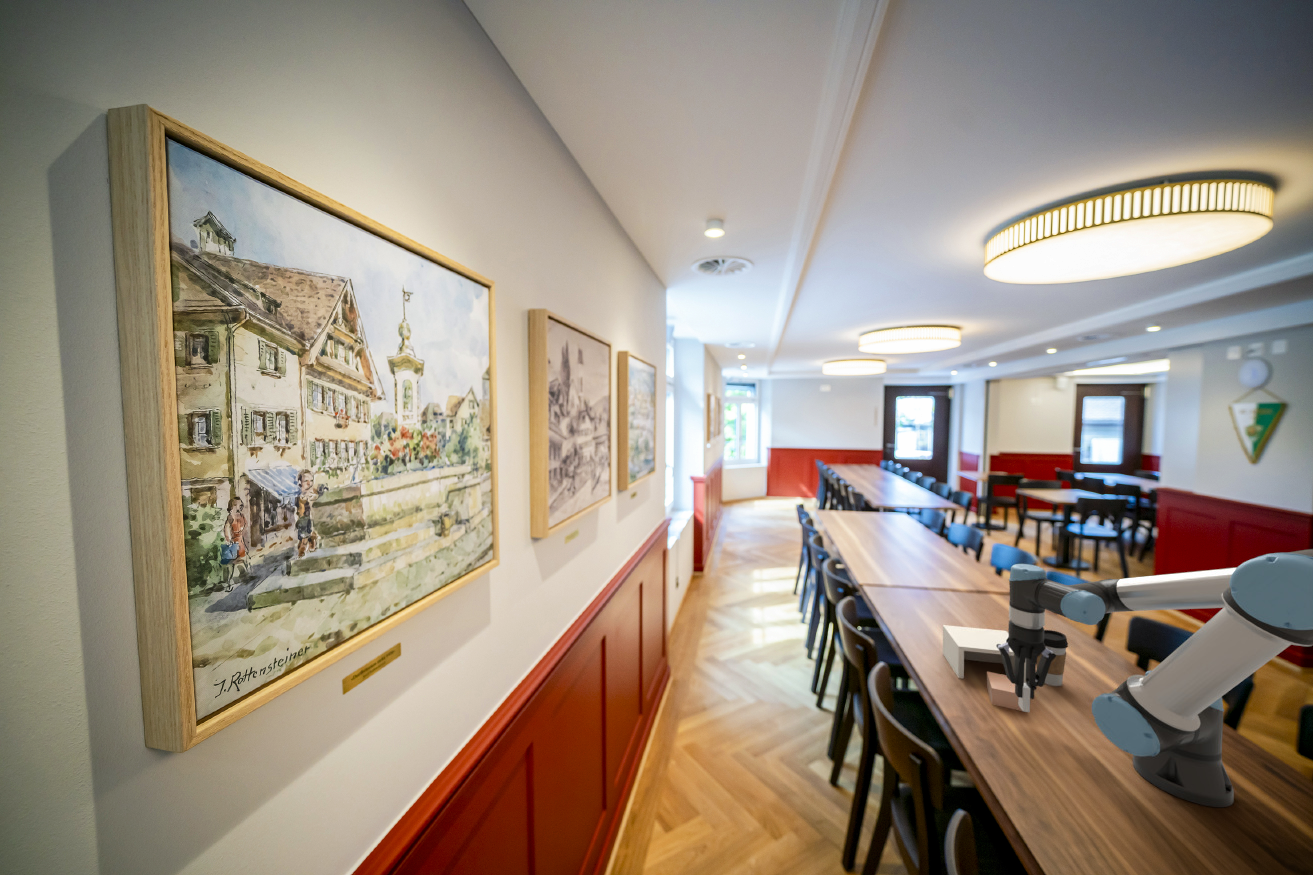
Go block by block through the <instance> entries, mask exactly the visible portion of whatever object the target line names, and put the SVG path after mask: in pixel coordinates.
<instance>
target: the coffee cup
mask: <svg viewBox="0 0 1313 875" xmlns="http://www.w3.org/2000/svg"><path fill="white" fill-rule="evenodd" d="M1044 644H1045V646H1046V648H1047V649H1050V650H1051V651H1052V652H1053V653H1054V654H1055V655H1056V657H1055V658H1054V659H1053V661H1052V662H1051V664H1050V667H1049V670H1048V673H1047V676H1046V679H1045V682H1044V685H1048V686H1053V687H1060V686H1062V685H1063V681H1064V680H1063V679H1064V672H1065V664H1066V659H1067V658H1066V657H1067V648H1068V647H1069V646H1068V645H1069V643H1068V640H1067V636H1066V635H1065V634H1064V633H1062V632H1059V631H1057V630H1052V629H1044ZM1041 656H1042V653H1041V654H1040V655H1039V656H1038V657H1037V664H1036V668H1037V667H1038V664H1039V661H1040V658H1041Z"/></svg>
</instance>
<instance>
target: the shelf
mask: <svg viewBox="0 0 1313 875" xmlns="http://www.w3.org/2000/svg"><path fill="white" fill-rule="evenodd" d="M1008 636H1009V634H1008V631H1007V630H1001V629H990V628H989V629H988V628H980V627H979V628H978V627H968V626H967V627H966V626H957V625H947V624H946V625H945V624H942V655H943V656H944V658H945V659H946V661H947V663H948V664H949V666H950V667H951V669H952V670H953V672H954V674H955V675H956V676H957V679H965V675H964V674H965V673H964V672H965V660H968V661H978V662H987V663H995V664H1003V660H1002V656H1001V652H1000V651H999V649H998V648H997V646H996V645H997V644H1001V645H1002V644H1004V643H1006V640H1007V639H1008ZM1008 654H1009V657H1010V660H1011V664H1012V668H1013V672H1014V675H1015V656H1014V652H1013V651H1012V650H1011V648H1009V653H1008ZM1024 683H1026V659H1025V663H1024Z"/></svg>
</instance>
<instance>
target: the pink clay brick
mask: <svg viewBox="0 0 1313 875" xmlns="http://www.w3.org/2000/svg"><path fill="white" fill-rule="evenodd" d="M986 688H987V692H988V696H989V700H990V703H991V705H992V706H993V705H994V706H998V707H1002V708H1006V709H1007V708H1008V709H1012V710H1015V709H1016V710H1015V711H1021V712H1023V711H1022V709H1021V708H1020V707H1019V705H1018V703H1019V697H1018V696H1017V695H1016V694H1015V684H1013V683H1011V682H1010V680H1009V679H1008V678H1007V675H1006V674H1000V673H996V672H991V671H986Z"/></svg>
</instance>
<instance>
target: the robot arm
mask: <svg viewBox="0 0 1313 875" xmlns="http://www.w3.org/2000/svg"><path fill="white" fill-rule="evenodd" d="M1008 581H1009V583H1008V584H1009V603H1008V619H1009V620H1008V631H1007V632H1008V634H1009V636H1008V639H1007V640H1006V643H1004V644H1002V645H1001V644H997V645H996V646H997V648H998V649H999V651H1000V652H1001V656H1002V660H1003V663H1002V664H1003V668H1004V671H1005V675H1007V678H1008V679H1009V680H1010V682H1011V683H1013V684H1015V694H1016V695H1017V696H1018V697H1019V703H1018V705H1019V707H1020V708H1021V709H1022V711H1021V712H1025V713H1030V711H1031V710H1030V709H1031V700H1033V699H1034V698H1035V691H1036V690H1037V687H1039V688H1042V687H1044V685H1045V683H1044V682H1045V679H1046V676H1047V673H1048V670H1049V667H1050V664H1051V662H1052V661H1053V659H1054V658H1055V657H1056V655H1055V654H1054V653H1053V652H1052V651H1051V650H1050V649H1047V648H1046V646H1045V644H1044V630H1045V624H1046V620H1045V619H1046V611H1049V612H1051V613H1054V614H1056V615H1059V616H1061V617H1064V618H1066V619H1069V620H1070V621H1073V622H1074V623H1075V622H1076V623H1080V624H1083V625H1086V626H1087V625H1088V626H1094V625H1097V624H1098V623H1099V622H1101V621H1102V620H1103V618H1104V617H1105V614H1109V613H1110V614H1111V613H1123V612H1143V611H1167V610H1168V611H1169V610H1171V611H1172V610H1190V609H1191V610H1193V609H1194V610H1195V609H1196V610H1197V609H1220V610H1219V611H1218V612H1217V613H1216V614H1215V615H1214V616H1213V617H1211V618H1210V619H1209V620H1208V621H1206V623H1205V624H1203V625H1202V626H1201V627H1200V628H1199V629H1197V631H1196V632H1194V633H1193V634H1192V635H1191V636H1190V637H1188V638H1187V640H1185V641H1184V642H1183V643H1182V644H1181V645H1179V647H1177V648H1176V649H1174V651H1173V652H1171V654H1169V655H1168V656H1166V658H1165V659H1164V660H1163V661H1161V662H1160V663H1159V664H1158V665H1157V666H1155V667H1154V668H1153V669H1151V670H1147V671H1146V672H1145V674H1144V675H1142V674H1133V675H1130V676H1129V677H1128V678H1127V679H1125V680H1124V681H1123V682H1122V683H1121V684H1120V685H1119V686H1118V687H1117V688H1115V689H1114V690H1112V691H1111V692H1109V693H1108V692H1107V693H1106V692H1105V693H1101V694H1099V695H1098V696H1096V697H1095V698H1094V699H1093V700H1092V703H1091V714H1092V716H1093V717H1094V722H1095V724H1096V725H1097V727H1098V729H1099V730H1100V732H1101V733H1102V734H1103V735H1104V736H1105V738H1106V739H1107V740H1109V741H1110V743H1112V744H1113V745H1115V746H1116V747H1117V748H1118V749H1120V750H1122V751H1123V752H1125V753H1129V754H1130V755H1132V765H1133V768H1134V769H1135V771H1136V772H1137V773H1138V774H1139V775H1140V776H1141V777H1142V778H1143V779H1145V780H1146V781H1148V782H1149V783H1150V784H1152V785H1153V786H1155V787H1157V788H1158V789H1160V790H1163V791H1164V792H1166V793H1168V794H1169V795H1170V794H1171V795H1173V796H1175V797H1177V798H1180V799H1182V800H1185V801H1188V802H1191V803H1195V804H1197V805H1202V806H1205V807H1210V808H1211V807H1212V808H1227V807H1229V806H1233V803H1234V801H1235V800H1234V798H1235V797H1234V796H1235V795H1234V794H1235V792H1234V787H1233V785H1232V782H1231V780H1230V777H1229V775H1228V773H1227V770H1226V767H1225V765H1224V763H1223V761H1222V760H1223V757H1222V754H1223V752H1222V750H1223V749H1222V748H1223V730H1224V729H1223V727H1224V726H1223V724H1224V712H1225V709H1224V705H1223V696H1224V695H1226V694H1228V693H1229V691H1231V690H1232V689H1233V688H1235V687H1236V686H1238V685H1240V683H1241V682H1243V681H1244V680H1245V679H1247V678H1249V677H1250V676H1251V675H1253V674H1254V673H1255V672H1257V671H1258V670H1259V669H1260V668H1262V667H1263V666H1264V665H1266V664H1268V663H1269V662H1270V661H1271V660H1273V659H1274V658H1275V657H1277V655H1279V654H1280V653H1282V652H1283V651H1284V650H1286V649H1287V648H1289V647H1290V646H1291V645H1293V646H1298V647H1299V646H1301V647H1312V646H1313V548H1309V549H1303V550H1296V551H1290V552H1274V553H1266V554H1263V555H1259V556H1256V557H1254V558H1251V559H1249V560H1246V561H1244V562H1242V563H1241V564H1240V565H1238V566H1237V567H1226V568H1219V569H1216V568H1215V569H1209V570H1207V569H1206V570H1196V571H1187V572H1175V573H1165V574H1156V575H1147V576H1135V577H1126V578H1115V579H1114V578H1113V579H1112V578H1108V579H1101V580H1096V581H1090V582H1083V583H1076V584H1075V583H1074V584H1069V585H1068V584H1063V583H1061V582H1057V581H1054V580H1052V579H1048V578H1047V572H1046V570H1045V569H1044V568H1042V567H1041V566H1038V565H1035V564H1034V565H1033V564H1028V563H1017V564H1016V563H1015V564H1013V565H1011V567H1010V572H1009V579H1008ZM1221 608H1222V609H1221ZM1009 648H1011V650H1012V651H1013V652H1014V656H1015V675H1014V672H1013V668H1012V664H1011V660H1010V657H1009V654H1008V653H1009ZM1041 653H1042V656H1041V658H1040V661H1039V664H1038V667H1036V664H1037V657H1038V656H1039V655H1040V654H1041ZM1025 659H1026V683H1024V663H1025Z"/></svg>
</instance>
